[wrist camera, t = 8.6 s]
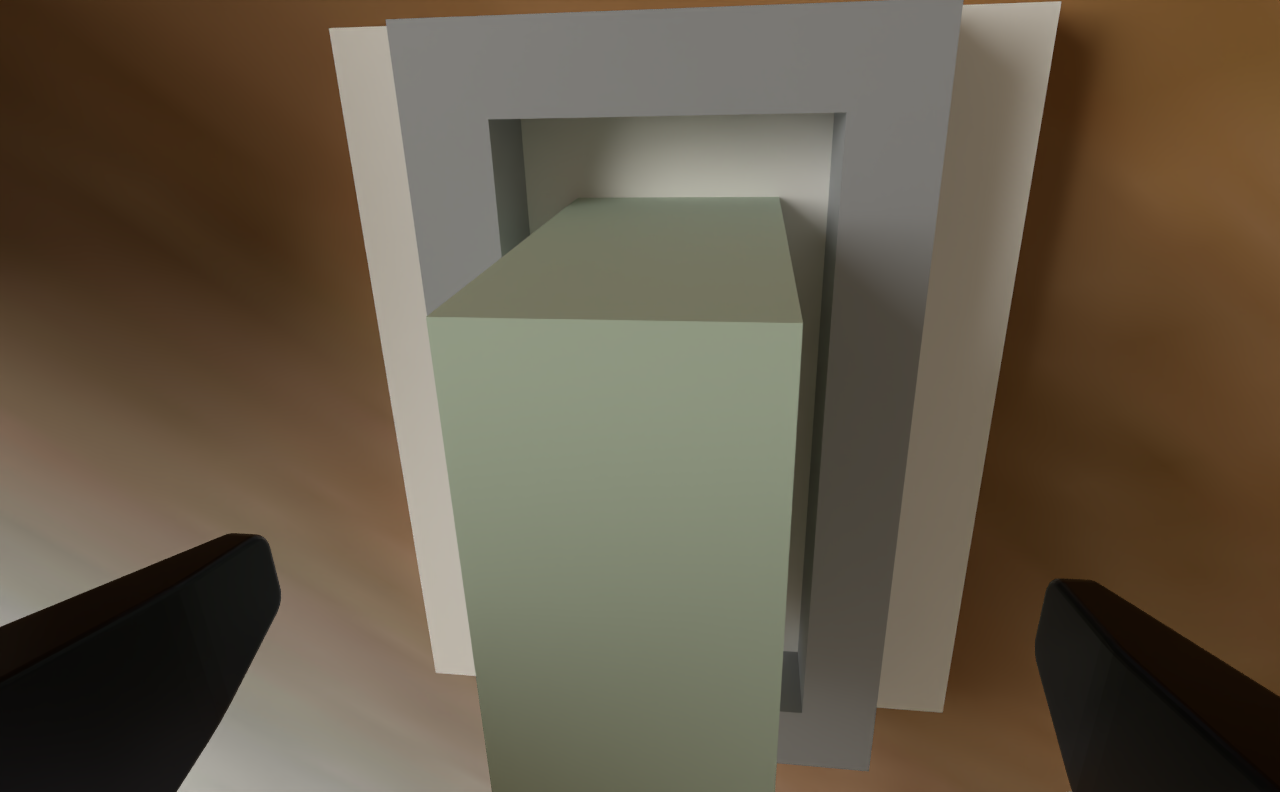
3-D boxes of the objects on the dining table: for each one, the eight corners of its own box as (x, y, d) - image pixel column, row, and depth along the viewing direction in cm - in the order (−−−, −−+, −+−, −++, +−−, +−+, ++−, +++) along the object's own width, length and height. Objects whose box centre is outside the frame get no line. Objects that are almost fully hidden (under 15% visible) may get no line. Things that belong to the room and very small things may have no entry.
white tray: (1035, 6, 11) (1110, -8, 9) (931, 674, 16) (961, 779, 13) (360, 31, 12) (269, 23, 10) (452, 640, 17) (406, 729, 15)
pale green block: (761, 589, 14) (767, 923, 9) (598, 580, 14) (506, 892, 9) (778, 196, 11) (803, 323, 6) (577, 197, 12) (425, 316, 6)
